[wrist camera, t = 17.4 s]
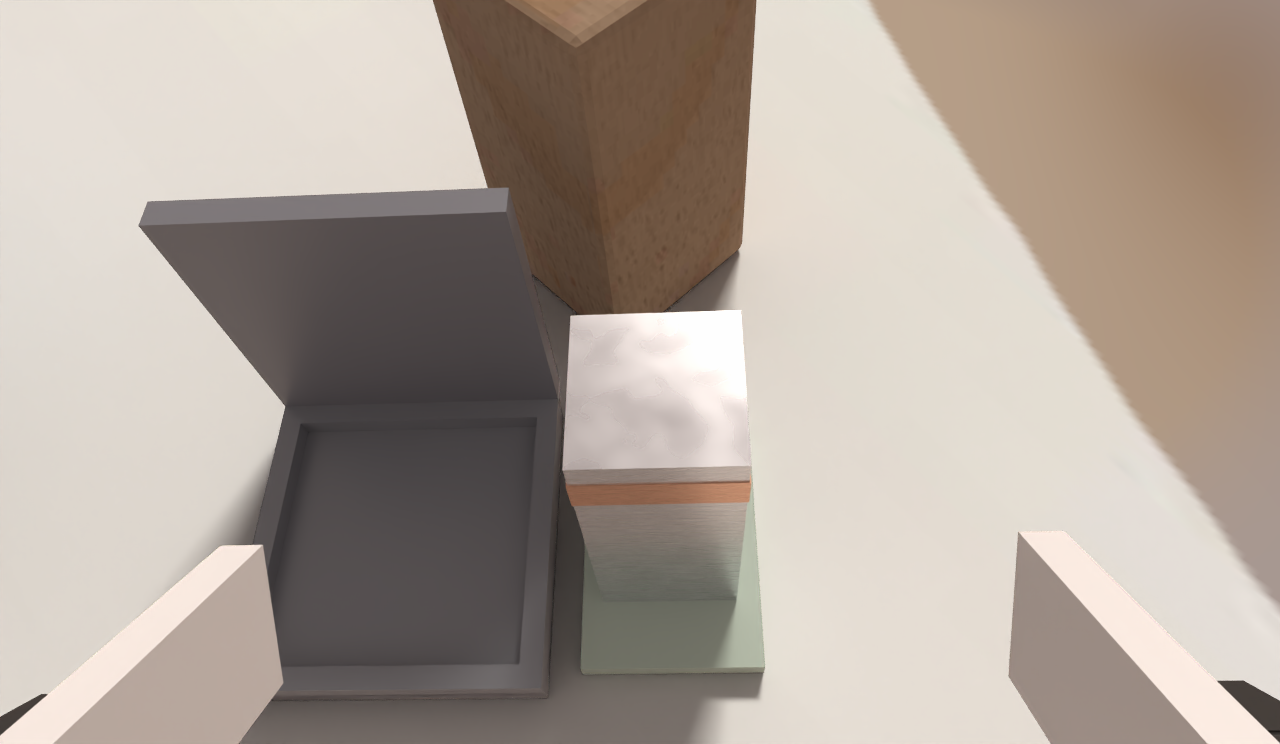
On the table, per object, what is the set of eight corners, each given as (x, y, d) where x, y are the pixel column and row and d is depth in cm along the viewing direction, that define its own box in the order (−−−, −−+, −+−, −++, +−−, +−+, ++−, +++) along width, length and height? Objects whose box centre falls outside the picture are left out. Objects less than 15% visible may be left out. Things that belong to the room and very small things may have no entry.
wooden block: (619, 353, 49) (574, 48, 32) (503, 253, 53) (408, -64, 36) (745, 248, 52) (766, -80, 35) (627, 162, 56) (593, -169, 39)
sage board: (582, 674, 40) (580, 669, 39) (591, 434, 46) (589, 425, 45) (763, 672, 39) (765, 667, 39) (747, 430, 46) (748, 421, 45)
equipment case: (237, 701, 40) (-1, 589, 27) (304, 404, 48) (147, 201, 34) (548, 698, 39) (466, 581, 26) (564, 397, 47) (508, 187, 34)
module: (602, 603, 40) (560, 471, 29) (605, 479, 44) (569, 314, 32) (737, 601, 40) (752, 467, 28) (731, 476, 43) (742, 308, 31)
